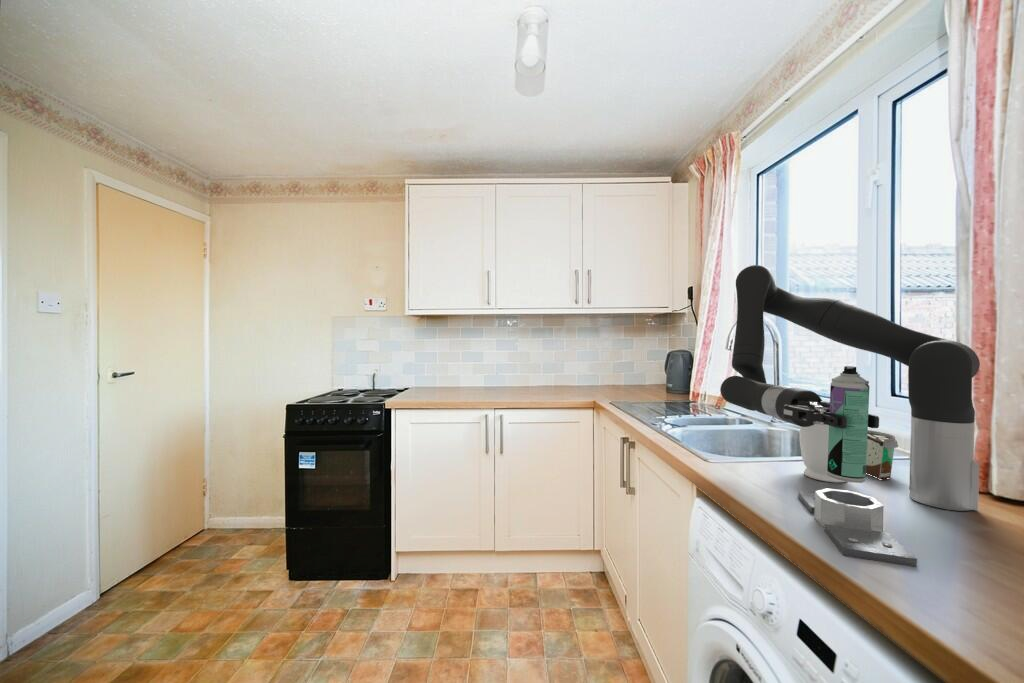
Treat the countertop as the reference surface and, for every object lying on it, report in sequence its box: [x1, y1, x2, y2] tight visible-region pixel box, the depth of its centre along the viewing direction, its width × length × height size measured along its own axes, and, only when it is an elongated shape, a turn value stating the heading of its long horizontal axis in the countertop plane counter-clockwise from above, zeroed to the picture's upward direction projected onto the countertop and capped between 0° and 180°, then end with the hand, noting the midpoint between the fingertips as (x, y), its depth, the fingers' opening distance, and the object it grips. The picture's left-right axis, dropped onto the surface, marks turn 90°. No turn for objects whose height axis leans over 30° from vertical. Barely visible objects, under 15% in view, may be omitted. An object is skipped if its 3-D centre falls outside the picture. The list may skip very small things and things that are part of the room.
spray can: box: [827, 365, 870, 484], centre depth 78 cm, size 6×6×20 cm
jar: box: [798, 424, 847, 484], centre depth 104 cm, size 11×10×15 cm
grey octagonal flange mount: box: [797, 487, 918, 568], centre depth 78 cm, size 9×26×5 cm, turn 160°
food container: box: [866, 429, 899, 479], centre depth 107 cm, size 12×6×10 cm, turn 179°
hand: (860, 422), depth 75 cm, fingers closed on spray can, 5 cm apart
